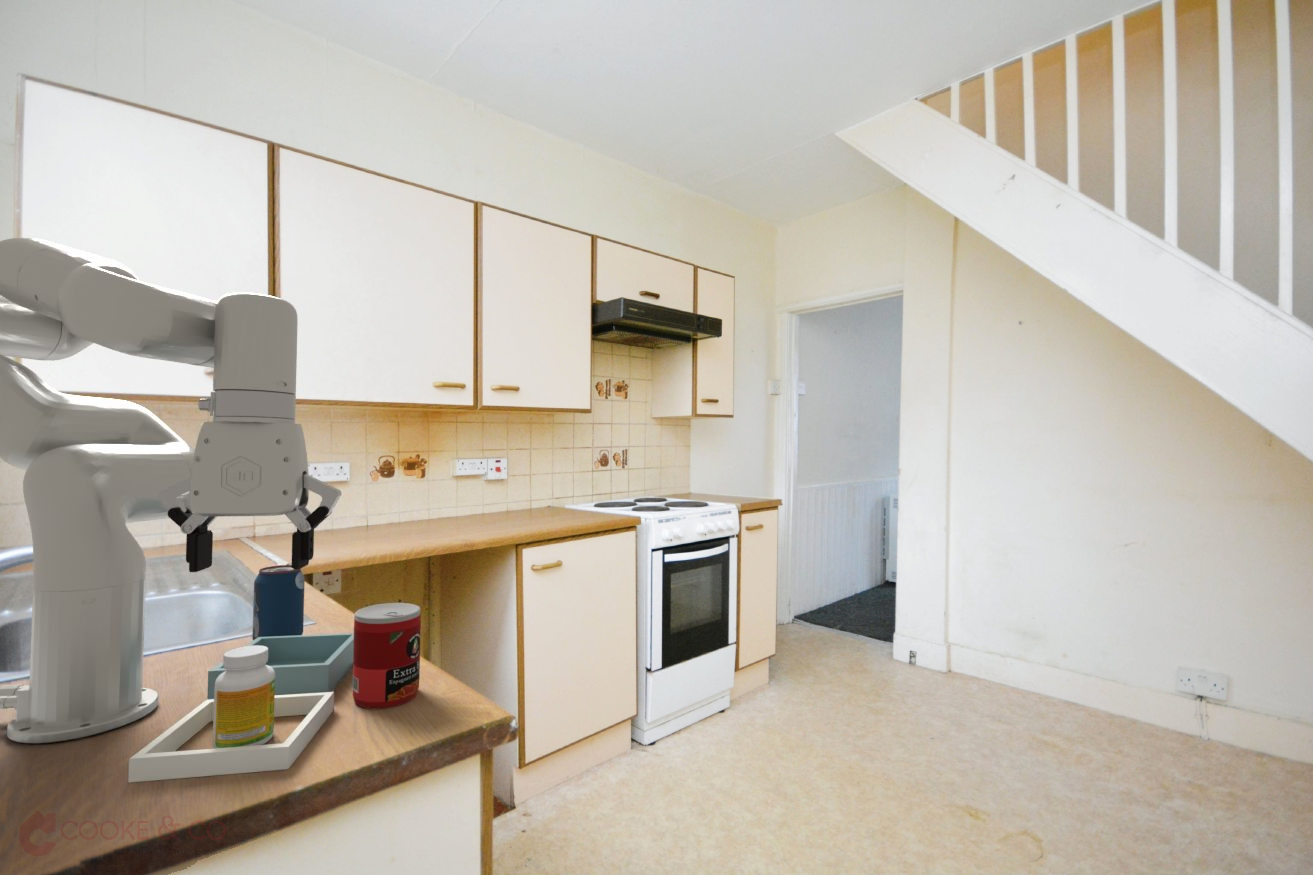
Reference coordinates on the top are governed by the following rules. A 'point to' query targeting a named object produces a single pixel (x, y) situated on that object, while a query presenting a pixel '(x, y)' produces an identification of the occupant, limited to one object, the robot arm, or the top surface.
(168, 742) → the white frame
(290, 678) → the teal bin
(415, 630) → the canned food
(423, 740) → the top surface
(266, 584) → the soda can
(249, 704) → the supplement bottle
